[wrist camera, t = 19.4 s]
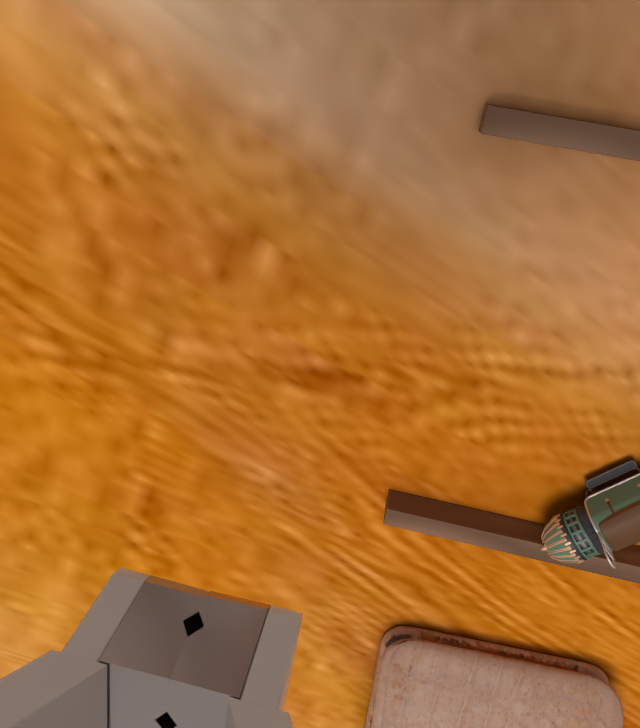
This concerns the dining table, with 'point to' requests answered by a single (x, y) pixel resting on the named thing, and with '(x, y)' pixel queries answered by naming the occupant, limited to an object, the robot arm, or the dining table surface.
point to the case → (483, 686)
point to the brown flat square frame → (485, 525)
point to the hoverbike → (598, 520)
